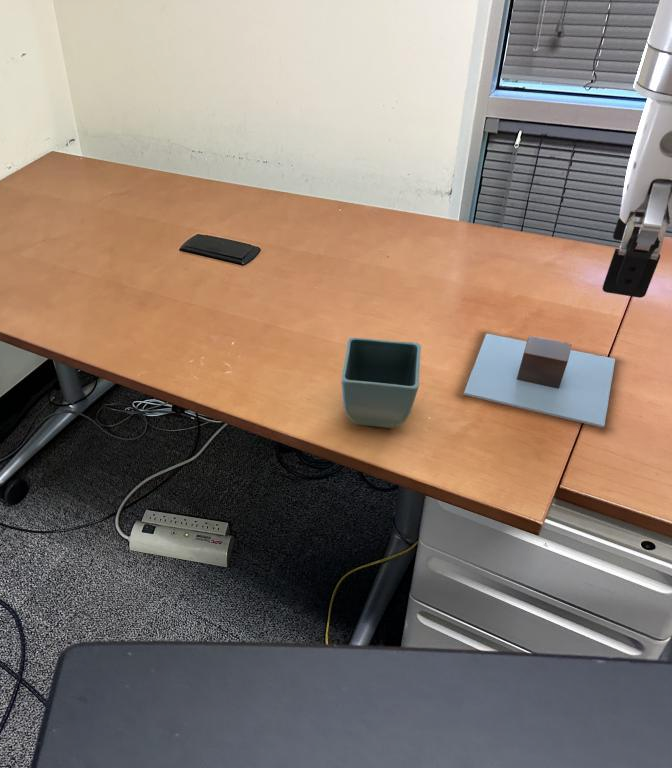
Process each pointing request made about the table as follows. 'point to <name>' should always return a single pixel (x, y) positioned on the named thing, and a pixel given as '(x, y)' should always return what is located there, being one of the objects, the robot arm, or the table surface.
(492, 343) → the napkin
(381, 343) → the flower pot
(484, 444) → the table surface
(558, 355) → the walnut block
